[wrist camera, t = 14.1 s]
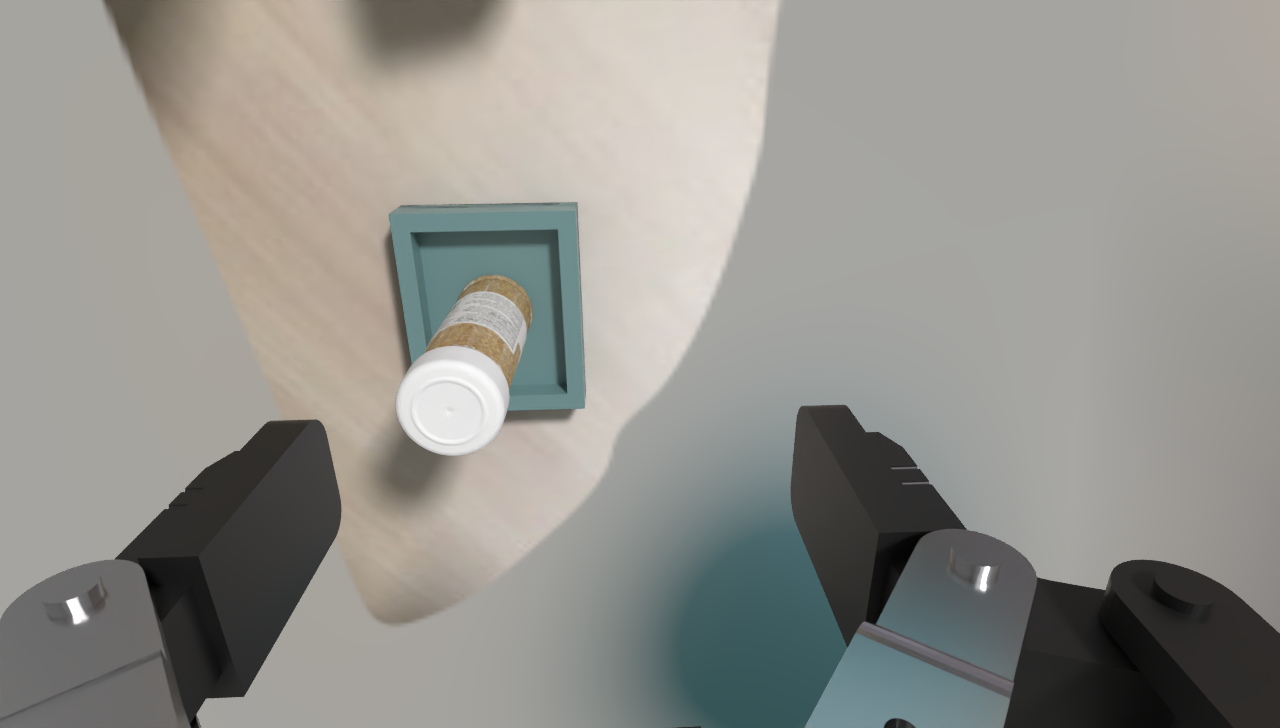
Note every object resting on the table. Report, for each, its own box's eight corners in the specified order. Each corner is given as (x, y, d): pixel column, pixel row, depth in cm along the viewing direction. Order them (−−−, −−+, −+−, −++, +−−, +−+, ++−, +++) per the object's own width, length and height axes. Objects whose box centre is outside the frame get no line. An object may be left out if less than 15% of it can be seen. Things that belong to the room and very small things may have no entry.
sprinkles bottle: (500, 358, 42) (456, 479, 30) (440, 309, 41) (369, 414, 29) (550, 308, 41) (527, 411, 29) (491, 255, 40) (440, 340, 27)
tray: (401, 205, 39) (388, 214, 37) (577, 202, 40) (575, 210, 38) (428, 395, 44) (419, 413, 42) (585, 390, 45) (584, 408, 42)
